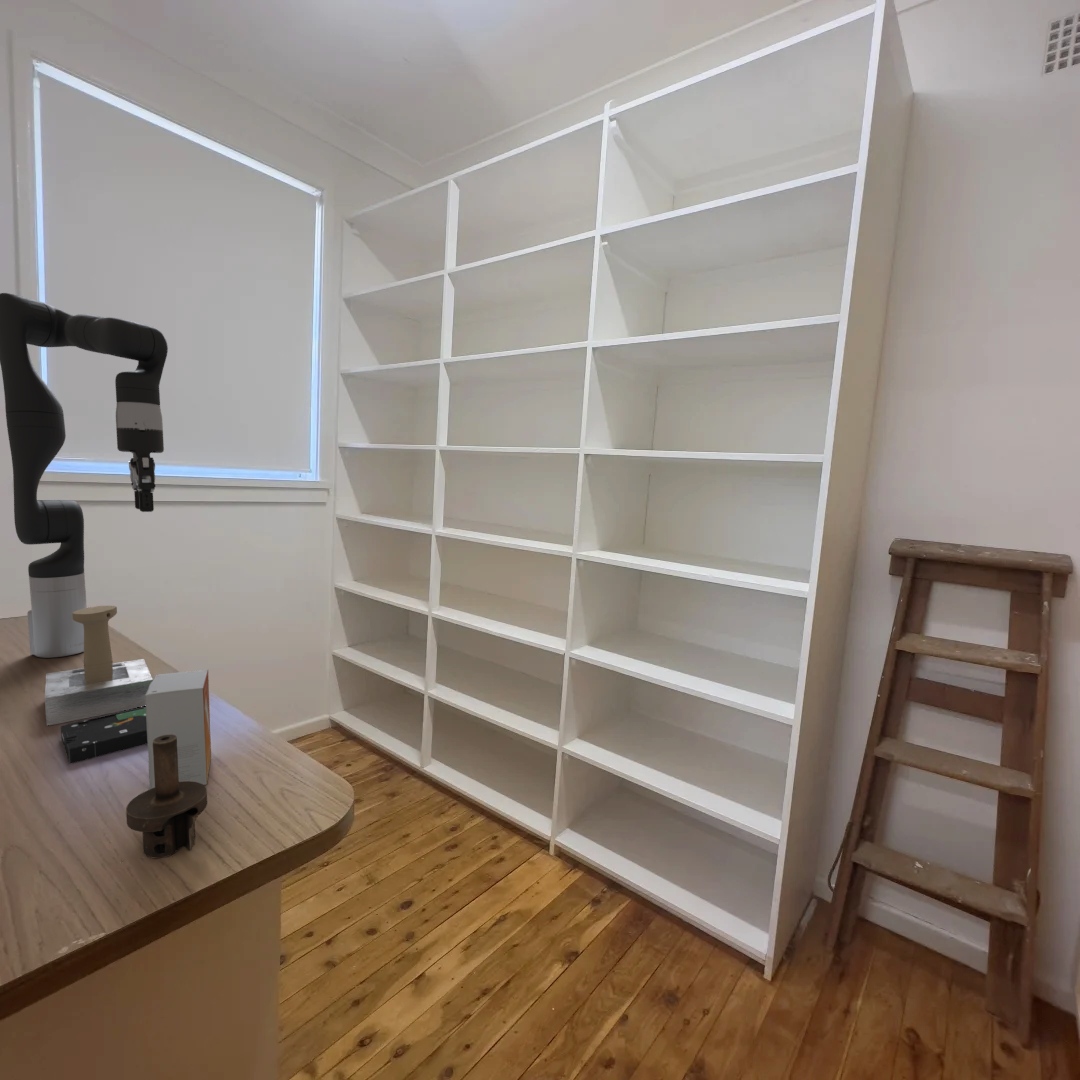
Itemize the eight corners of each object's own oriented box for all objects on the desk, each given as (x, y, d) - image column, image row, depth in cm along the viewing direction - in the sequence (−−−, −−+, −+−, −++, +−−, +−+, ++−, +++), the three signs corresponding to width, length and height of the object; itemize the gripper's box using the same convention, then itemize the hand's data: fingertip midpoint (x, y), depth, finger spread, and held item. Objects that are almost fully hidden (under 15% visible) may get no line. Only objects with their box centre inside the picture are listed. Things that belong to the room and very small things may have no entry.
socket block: (46, 726, 90) (44, 697, 89) (48, 698, 100) (46, 672, 100) (154, 704, 98) (152, 678, 98) (144, 681, 109) (143, 657, 109)
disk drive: (70, 769, 78) (193, 734, 89) (68, 749, 78) (192, 717, 88) (60, 743, 85) (175, 714, 96) (58, 725, 85) (174, 698, 96)
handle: (128, 688, 102) (123, 606, 101) (97, 702, 96) (92, 614, 94) (102, 687, 103) (97, 605, 101) (70, 701, 96) (64, 613, 95)
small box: (208, 785, 74) (203, 687, 72) (148, 796, 71) (143, 694, 69) (212, 757, 81) (208, 667, 79) (159, 766, 78) (154, 673, 77)
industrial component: (221, 844, 62) (216, 738, 61) (143, 879, 57) (136, 763, 55) (187, 811, 68) (182, 713, 67) (113, 839, 62) (107, 734, 61)
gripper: (113, 428, 116) (118, 508, 117) (119, 424, 105) (124, 513, 106) (158, 430, 120) (161, 508, 122) (167, 427, 109) (171, 512, 111)
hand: (144, 510), depth 114 cm, fingers open, 8 cm apart
